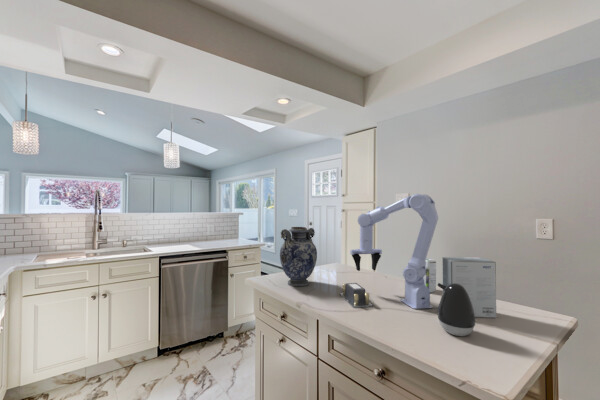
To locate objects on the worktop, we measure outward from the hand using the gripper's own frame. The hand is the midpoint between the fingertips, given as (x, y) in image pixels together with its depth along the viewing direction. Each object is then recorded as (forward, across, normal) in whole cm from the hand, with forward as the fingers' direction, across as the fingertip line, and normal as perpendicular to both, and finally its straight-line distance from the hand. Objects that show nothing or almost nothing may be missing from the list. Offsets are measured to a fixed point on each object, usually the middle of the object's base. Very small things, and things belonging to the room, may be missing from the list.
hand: (366, 270), depth 123 cm
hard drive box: (+10, -27, +29) cm, 41 cm away
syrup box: (+10, -29, +3) cm, 31 cm away
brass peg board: (+10, +9, +9) cm, 16 cm away
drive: (+9, +9, +9) cm, 16 cm away
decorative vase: (+10, +28, -18) cm, 35 cm away
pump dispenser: (+10, -11, +41) cm, 44 cm away
